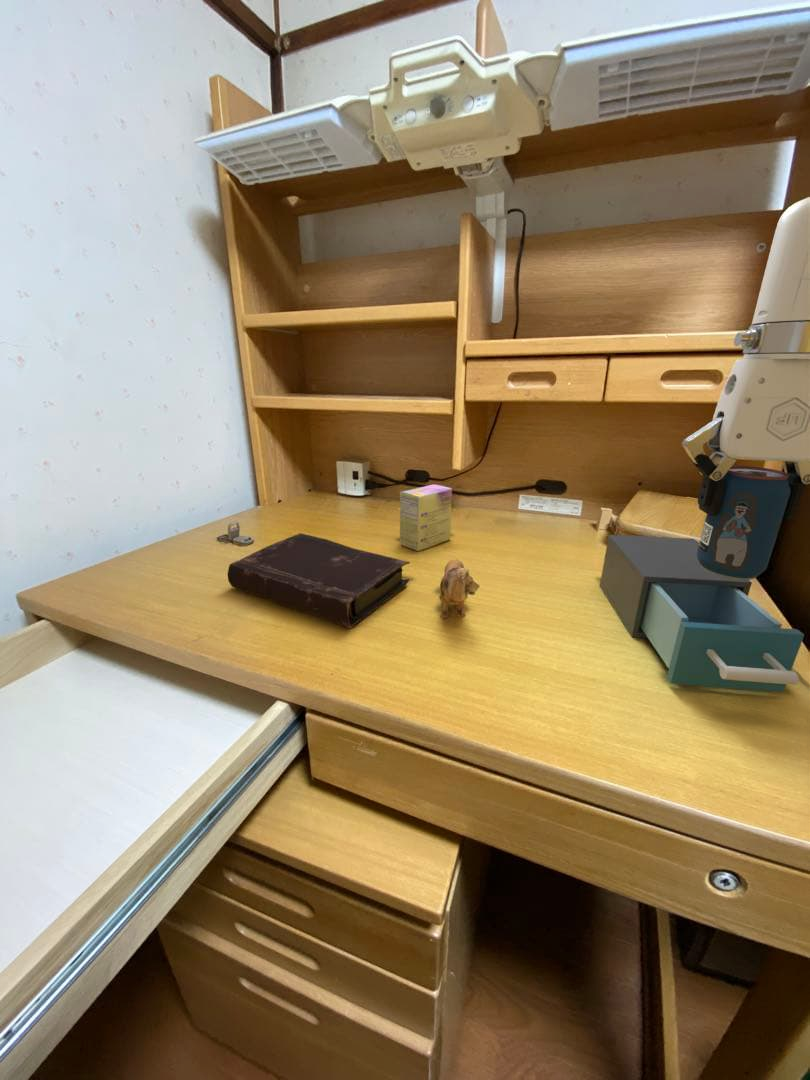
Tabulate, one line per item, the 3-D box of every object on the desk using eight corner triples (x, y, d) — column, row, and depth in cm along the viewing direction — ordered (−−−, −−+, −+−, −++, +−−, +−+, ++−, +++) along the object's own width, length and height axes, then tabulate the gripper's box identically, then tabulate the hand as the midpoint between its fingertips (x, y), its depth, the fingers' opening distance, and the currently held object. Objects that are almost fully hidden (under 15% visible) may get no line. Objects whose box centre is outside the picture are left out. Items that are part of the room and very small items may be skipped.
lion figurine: (478, 630, 67) (482, 574, 64) (442, 630, 67) (444, 574, 64) (461, 585, 81) (464, 537, 78) (431, 585, 81) (433, 537, 77)
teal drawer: (811, 721, 49) (836, 660, 46) (688, 711, 50) (705, 650, 48) (715, 623, 68) (729, 575, 65) (627, 617, 69) (637, 570, 66)
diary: (347, 632, 66) (345, 601, 64) (229, 590, 78) (225, 563, 76) (411, 583, 81) (411, 557, 79) (304, 554, 93) (302, 531, 91)
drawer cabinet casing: (733, 644, 64) (752, 582, 61) (631, 637, 66) (644, 576, 62) (681, 590, 80) (693, 538, 76) (599, 585, 81) (608, 534, 78)
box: (431, 533, 105) (433, 483, 101) (450, 540, 102) (453, 488, 97) (398, 545, 99) (399, 491, 94) (418, 552, 95) (419, 496, 91)
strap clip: (255, 542, 99) (253, 523, 98) (245, 546, 97) (243, 527, 95) (226, 536, 103) (223, 517, 101) (215, 540, 100) (212, 521, 99)
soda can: (744, 560, 58) (772, 465, 53) (776, 585, 51) (811, 479, 47) (684, 556, 59) (707, 463, 54) (709, 580, 52) (737, 476, 48)
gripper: (718, 342, 44) (677, 520, 50) (922, 343, 42) (853, 528, 48) (683, 345, 51) (651, 501, 57) (857, 346, 49) (803, 507, 55)
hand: (743, 512), depth 52 cm, fingers closed on soda can, 7 cm apart
